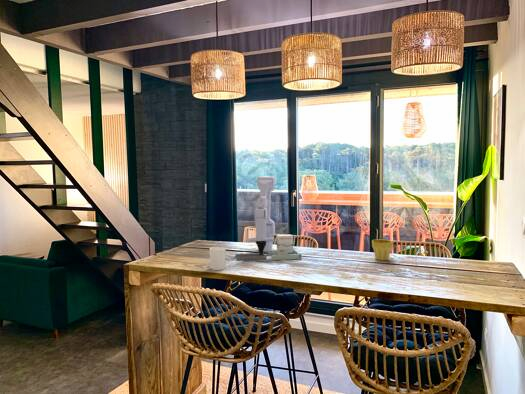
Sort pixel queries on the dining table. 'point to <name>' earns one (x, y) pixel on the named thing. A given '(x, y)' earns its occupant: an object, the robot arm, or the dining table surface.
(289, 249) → the ink box
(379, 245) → the plant pot
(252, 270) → the dining table surface
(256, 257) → the printer bay
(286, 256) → the tray
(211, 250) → the white cup
